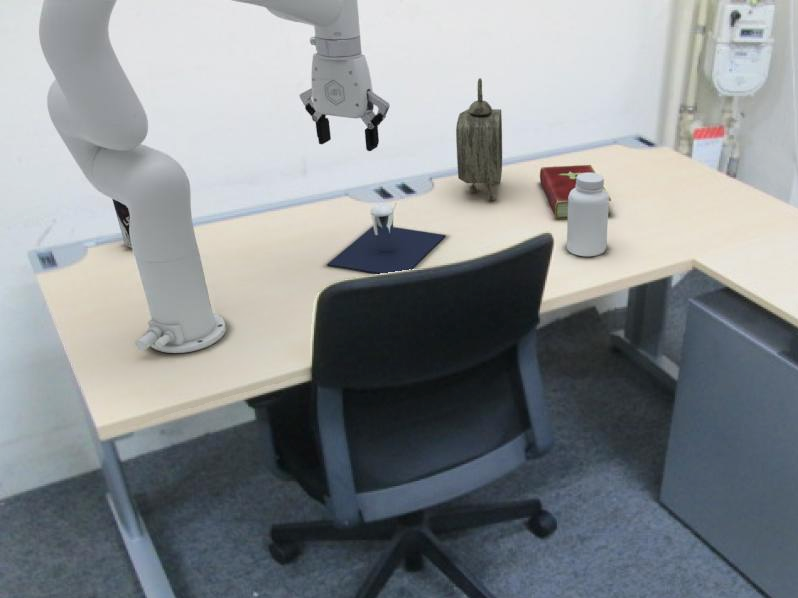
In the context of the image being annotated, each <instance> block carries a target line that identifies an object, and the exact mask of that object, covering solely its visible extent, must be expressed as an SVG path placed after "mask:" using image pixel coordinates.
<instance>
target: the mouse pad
mask: <svg viewBox="0 0 798 598" xmlns="http://www.w3.org/2000/svg"><path fill="white" fill-rule="evenodd" d="M445 238H446V234H441V233H436V232H435V233H434V232H428V231H421V230H416V229H415V230H414V229H409V228H401V227H396V226H394V250H392V251H390V252H380V251H379V250H378V249H377V243H376V238H375V232H374V227H373V226H371V227H369V229H368V230H366V231H365V232H364V233H363V234H361V235H360V236H359V237H358V238H357V239H356V240H354V241H353V242H352V243H351V244H350V245H348V246H347V247H346V248H345V249H343V250H342V251H341V252H340V253H339V254H338V255H336V256H335V257H334V258H332V259H331V260H330V261H329V262H328V263H326V265H327V266H328V267H333V268H339V269H345V270H350V271H356V272H362V273H369V274H374V275H379V274H380V273H388V272H395V271H402V270H409V269H412V270H413V269H414V268H415V267H416V266H418V264H419V263H420V262H421V261H422V260H423V259H424V258H425V257H427V256H428V255H429V253H430V252H431V251H433V250H434V249H435V247H437V245H439V244H440V243H441V242H442V241H443V240H444V239H445Z"/></svg>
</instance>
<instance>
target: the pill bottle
mask: <svg viewBox="0 0 798 598" xmlns="http://www.w3.org/2000/svg"><path fill="white" fill-rule="evenodd" d="M604 183H605V177H604V176H603V175H602V174H599V173H597V172H595V173H581V174H579V175H577V177H576V188H574V189H573V190H571V192H570V193H569V196H568V219H567V224H566V226H567V227H566V248H567V250H568V252H569V253H570V254H572V255H576V256H579V257H596V256H599V255H602V254H603V253H604V252H605V251H606V249H607V243H608V241H607V239H608V226H609V225H608V223H609V217H608V212H609V207H610V201H609V197H610V195H609V193H608V191H607V190H606V189H605V190H604V189H603V186H604Z"/></svg>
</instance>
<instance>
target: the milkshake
mask: <svg viewBox="0 0 798 598" xmlns="http://www.w3.org/2000/svg"><path fill="white" fill-rule="evenodd" d="M397 203H398V202H395V205H394V207H393V206H392V205H390V204H387V203H376V204H374V205H373V206H372V207H371V208H370V210H369V211H370V212H369V213H370V217H371V222H372V227H374V232H375V238H376V243H377V249H378V250H379V251H380V252H390V251H392V250H394V227H395V226H394V224H395V208H396V206H397Z"/></svg>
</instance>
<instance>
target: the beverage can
mask: <svg viewBox="0 0 798 598" xmlns="http://www.w3.org/2000/svg"><path fill="white" fill-rule="evenodd" d="M111 199H112V198H111ZM112 204H113V207H114V210H115V215H116V218H117V222H118V225H119V229H120V233H121V236H122V240H123V243H124V245H125V246H126V247H129V248H130V249H132V245H131V241H130V234H129V225H130V213H129V209H128V207H127V206H126V205H124V204H122V203H120V202H119V201H116V200H114V199H112Z"/></svg>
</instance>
